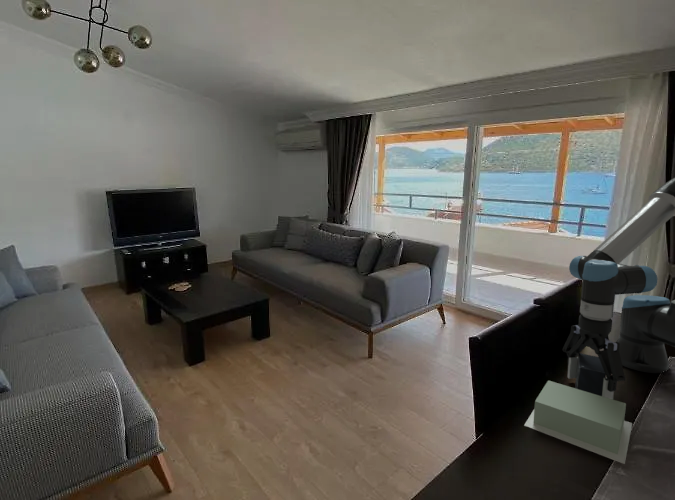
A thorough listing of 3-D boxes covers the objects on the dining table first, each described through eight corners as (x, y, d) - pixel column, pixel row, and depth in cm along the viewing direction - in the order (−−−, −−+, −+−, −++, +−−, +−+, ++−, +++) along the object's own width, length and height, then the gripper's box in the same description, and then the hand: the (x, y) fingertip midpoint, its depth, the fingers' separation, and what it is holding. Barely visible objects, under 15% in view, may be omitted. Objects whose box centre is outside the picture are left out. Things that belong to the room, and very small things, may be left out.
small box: (603, 408, 99) (607, 372, 97) (575, 401, 102) (578, 367, 100) (600, 390, 108) (604, 356, 106) (574, 384, 111) (577, 352, 109)
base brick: (546, 400, 101) (548, 380, 100) (623, 425, 90) (626, 403, 89) (533, 422, 92) (534, 401, 91) (617, 454, 81) (620, 430, 80)
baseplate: (542, 397, 104) (543, 394, 104) (631, 426, 91) (632, 423, 91) (523, 428, 91) (524, 425, 91) (624, 468, 78) (624, 464, 78)
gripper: (552, 303, 112) (547, 369, 116) (623, 333, 89) (614, 414, 92) (574, 302, 113) (568, 367, 117) (649, 331, 90) (639, 411, 93)
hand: (588, 388), depth 105 cm, fingers closed on small box, 11 cm apart
